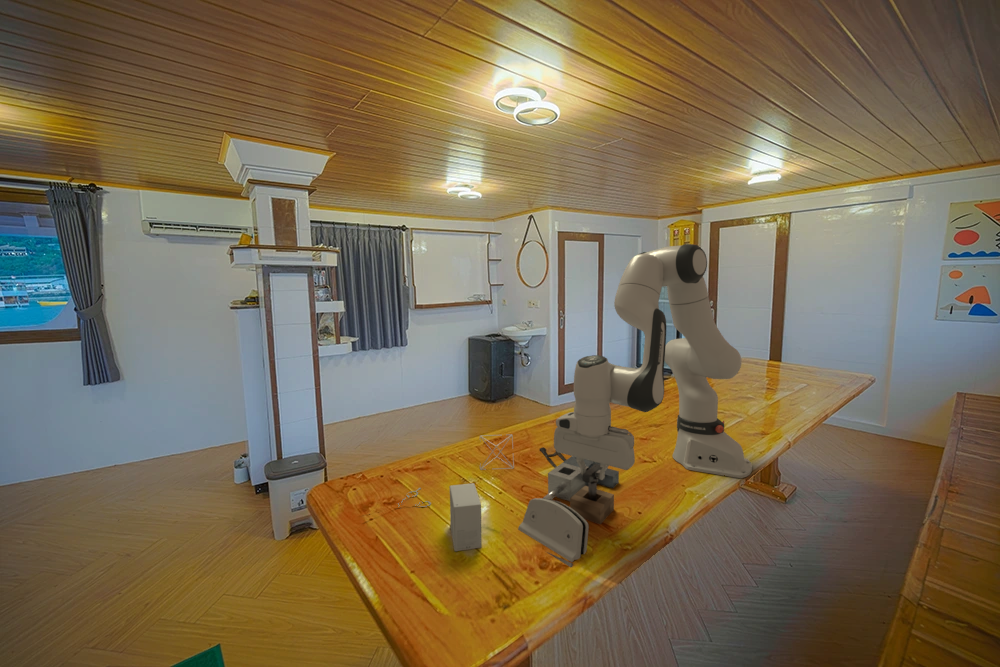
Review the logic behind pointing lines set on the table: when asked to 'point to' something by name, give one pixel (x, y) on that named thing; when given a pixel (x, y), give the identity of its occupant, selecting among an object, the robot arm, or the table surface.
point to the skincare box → (465, 517)
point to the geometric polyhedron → (499, 452)
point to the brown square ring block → (592, 505)
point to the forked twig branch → (552, 455)
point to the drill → (574, 479)
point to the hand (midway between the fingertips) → (592, 476)
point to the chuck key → (592, 481)
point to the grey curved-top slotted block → (556, 528)
